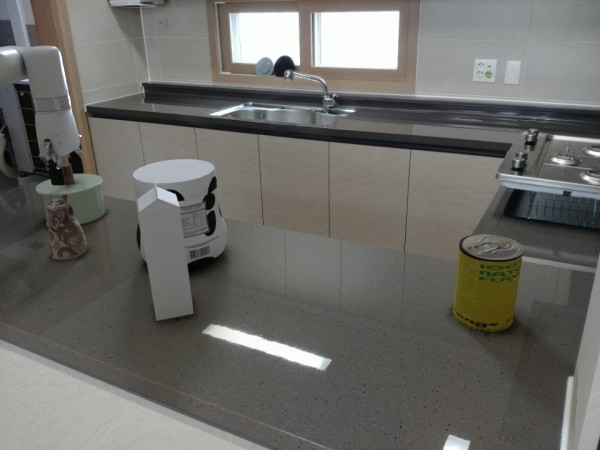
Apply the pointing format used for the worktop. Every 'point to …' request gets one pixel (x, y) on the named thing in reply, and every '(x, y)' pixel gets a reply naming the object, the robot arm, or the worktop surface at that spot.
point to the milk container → (188, 205)
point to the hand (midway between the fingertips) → (68, 178)
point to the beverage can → (487, 281)
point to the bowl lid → (70, 183)
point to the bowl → (81, 205)
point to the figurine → (64, 230)
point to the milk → (165, 253)
